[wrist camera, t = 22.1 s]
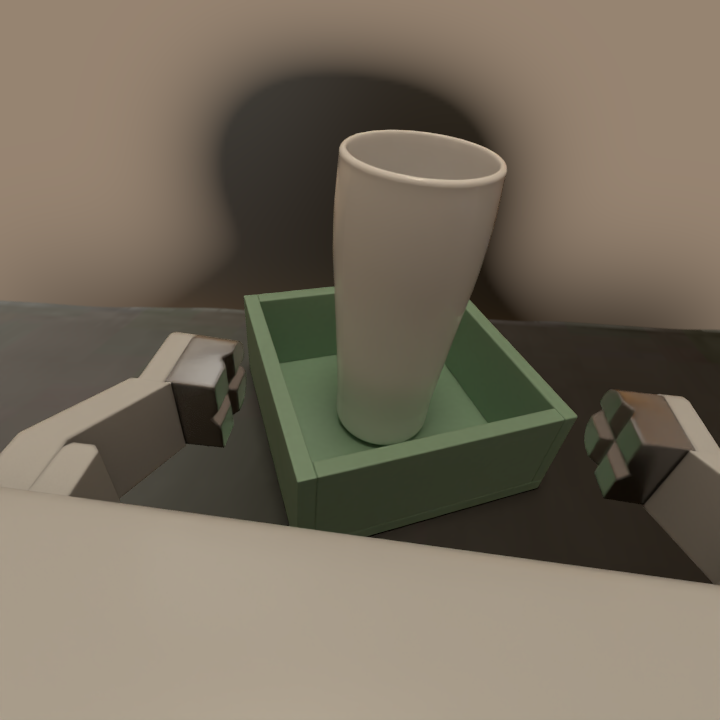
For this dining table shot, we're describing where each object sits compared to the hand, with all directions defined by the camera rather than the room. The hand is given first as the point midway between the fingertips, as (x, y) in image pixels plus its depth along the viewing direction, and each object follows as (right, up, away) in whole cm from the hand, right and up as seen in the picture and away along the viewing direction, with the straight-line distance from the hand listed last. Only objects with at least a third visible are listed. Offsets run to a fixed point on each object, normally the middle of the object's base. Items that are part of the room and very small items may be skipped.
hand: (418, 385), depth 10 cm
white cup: (0, -3, +17) cm, 18 cm away
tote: (0, -3, +18) cm, 18 cm away
